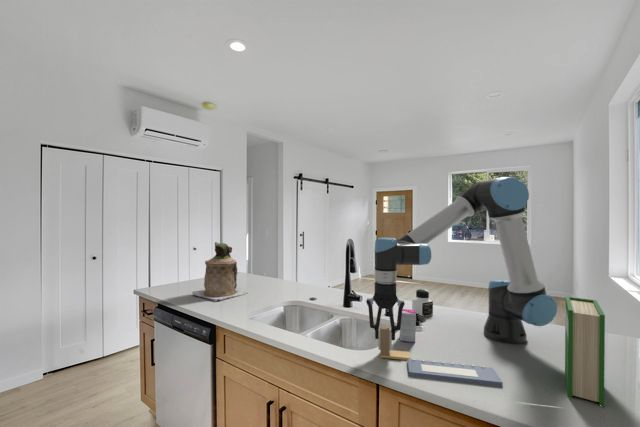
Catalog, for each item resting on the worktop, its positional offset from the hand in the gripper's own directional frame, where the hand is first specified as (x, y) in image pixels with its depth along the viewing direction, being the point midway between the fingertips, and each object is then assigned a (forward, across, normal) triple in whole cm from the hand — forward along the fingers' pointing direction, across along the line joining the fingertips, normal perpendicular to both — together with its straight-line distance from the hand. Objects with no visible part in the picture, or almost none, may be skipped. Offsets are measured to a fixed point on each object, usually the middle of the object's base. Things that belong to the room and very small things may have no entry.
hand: (384, 348), depth 111 cm
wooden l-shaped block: (+2, +4, 0) cm, 4 cm away
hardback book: (+3, +56, -8) cm, 57 cm away
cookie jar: (+3, -99, +61) cm, 116 cm away
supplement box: (+3, +8, +16) cm, 18 cm away
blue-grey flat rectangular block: (+3, +20, -8) cm, 22 cm away
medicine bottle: (+3, +18, +51) cm, 54 cm away
